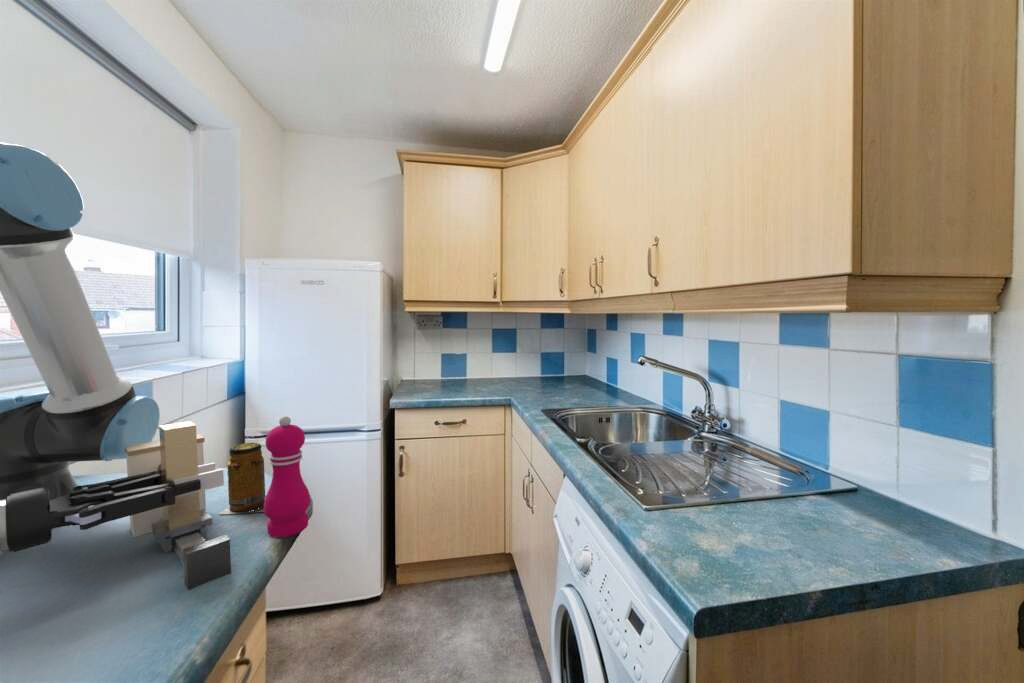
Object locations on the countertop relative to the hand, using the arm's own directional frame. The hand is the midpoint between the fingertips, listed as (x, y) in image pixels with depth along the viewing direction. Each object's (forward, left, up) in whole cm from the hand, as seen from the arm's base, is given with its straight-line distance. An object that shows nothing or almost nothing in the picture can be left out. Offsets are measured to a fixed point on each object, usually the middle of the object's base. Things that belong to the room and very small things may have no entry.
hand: (218, 473), depth 71 cm
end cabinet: (-10, -5, -10) cm, 15 cm away
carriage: (0, -5, -10) cm, 11 cm away
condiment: (-6, +7, -10) cm, 14 cm away
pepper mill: (+9, +8, -10) cm, 16 cm away
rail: (+3, -5, -10) cm, 12 cm away
